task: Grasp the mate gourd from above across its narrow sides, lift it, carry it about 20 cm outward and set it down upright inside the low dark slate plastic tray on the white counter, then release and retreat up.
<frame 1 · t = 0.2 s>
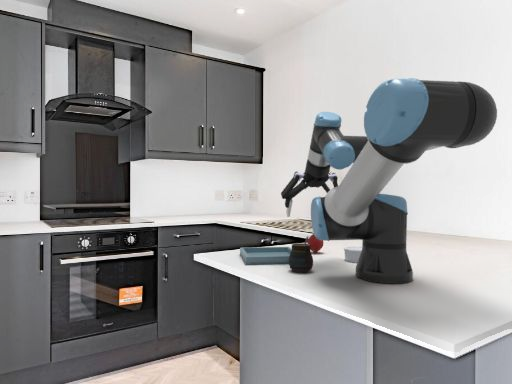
hand: (307, 214, 135), 15 cm above the worktop, tool tilted 35°, fingers open, 13 cm apart
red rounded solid: (315, 253, 146), on the worktop
mate gourd: (300, 271, 117), on the worktop
ramekin: (357, 261, 133), on the worktop
slate tray: (269, 258, 134), on the worktop
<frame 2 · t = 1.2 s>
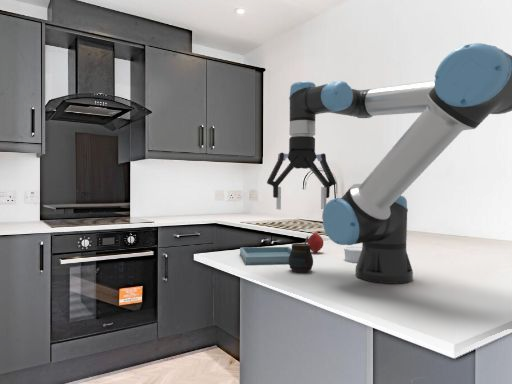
hand: (301, 209, 116), 18 cm above the worktop, tool pointing down, fingers open, 13 cm apart
nothing on the worktop moved.
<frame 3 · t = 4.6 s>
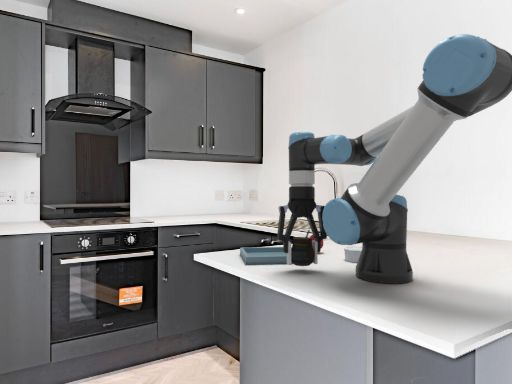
hand: (302, 263, 116), 2 cm above the worktop, tool pointing down, fingers closed on mate gourd, 7 cm apart
mate gourd: (302, 265, 116), point 2 cm above the worktop, touching gripper
everything else where it was.
when the fingers open (2 cm above the worktop, at t = 10.3 s): mate gourd stays where it is, resting on slate tray.
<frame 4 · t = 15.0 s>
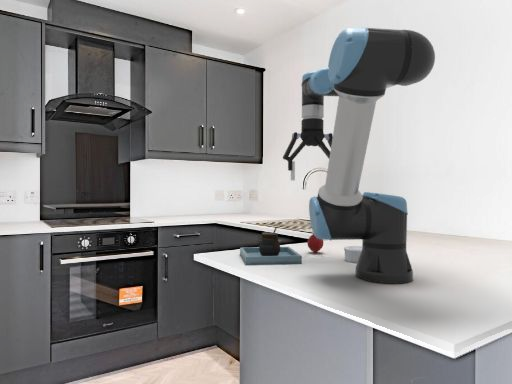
hand: (311, 180, 137), 27 cm above the worktop, tool pointing down, fingers open, 13 cm apart
mate gourd: (269, 257, 134), point 1 cm above the worktop, touching slate tray
everything else where it was.
at the end: mate gourd inside the target area on the slate tray (0.1 cm from its centre), point 0.6 cm above the slate tray's base; mate gourd tilted 0°; the gripper is holding nothing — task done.
